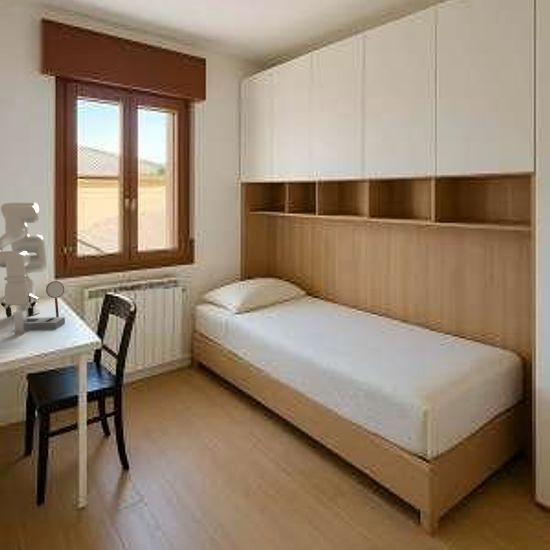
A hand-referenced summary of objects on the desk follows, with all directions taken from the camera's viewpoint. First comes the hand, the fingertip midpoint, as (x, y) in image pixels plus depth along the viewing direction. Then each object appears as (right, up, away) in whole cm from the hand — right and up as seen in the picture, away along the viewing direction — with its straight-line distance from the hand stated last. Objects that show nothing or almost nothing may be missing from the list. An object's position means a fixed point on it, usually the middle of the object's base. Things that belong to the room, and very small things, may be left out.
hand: (20, 316), depth 223 cm
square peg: (0, -8, +2) cm, 8 cm away
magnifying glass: (+6, -4, +26) cm, 27 cm away
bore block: (+3, -6, +13) cm, 14 cm away
